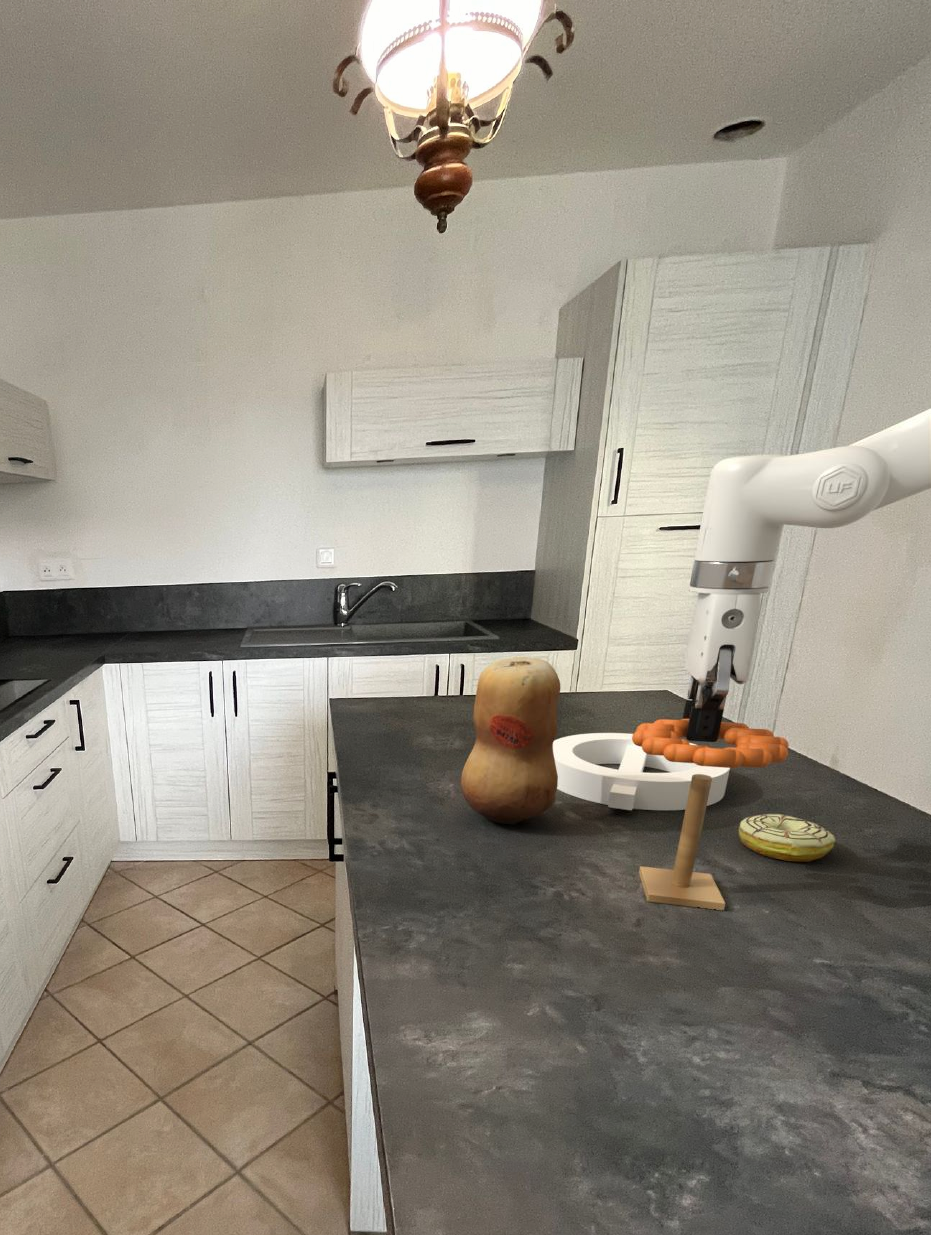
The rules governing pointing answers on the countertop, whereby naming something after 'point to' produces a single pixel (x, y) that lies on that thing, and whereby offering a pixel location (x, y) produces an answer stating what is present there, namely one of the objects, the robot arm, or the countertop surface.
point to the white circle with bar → (627, 774)
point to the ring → (749, 752)
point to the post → (686, 860)
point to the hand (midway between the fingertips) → (698, 735)
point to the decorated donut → (785, 837)
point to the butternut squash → (513, 741)
